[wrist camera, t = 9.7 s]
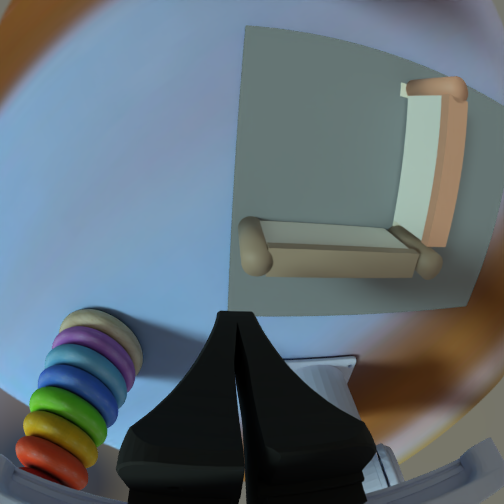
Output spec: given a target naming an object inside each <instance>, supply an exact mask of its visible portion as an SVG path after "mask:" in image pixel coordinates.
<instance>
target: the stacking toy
mask: <svg viewBox="0 0 504 504" xmlns="http://www.w3.org/2000/svg"><path fill="white" fill-rule="evenodd" d="M142 363H143V353H142V349H141V346H140V343H139V341H138V340H137V338H136V336H135V335H134V334H133V332H132V331H131V330H130V329H129V328H128V327H127V326H126V325H125V324H124V323H122V322H121V321H120V320H118V319H117V318H115V317H113V316H112V315H109V314H107V313H105V312H102V311H99V310H93V309H82V310H77V311H74V312H72V313H71V314H69V315H68V316H67V317H66V318H65V319H64V321H63V322H62V324H61V326H60V331H59V334H58V335H57V336H56V338H55V340H54V342H53V346H52V350H51V351H50V352H49V353H48V355H47V357H46V360H45V370H44V371H43V372H42V373H41V374H40V376H39V380H38V389H37V390H36V391H35V392H34V393H33V394H32V396H31V398H30V404H29V405H30V410H31V413H29V414H28V415H27V416H26V417H25V419H24V425H23V426H24V431H25V434H26V436H24V437H22V438H21V439H19V440H18V442H17V444H16V454H17V457H18V458H19V460H20V462H22V464H23V465H24V466H25V467H21V468H19V469H22V470H24V471H26V472H29V473H31V474H33V475H36V476H38V477H41V478H43V479H46V480H49V481H51V482H54V483H57V484H60V485H63V486H66V487H69V488H72V489H75V490H81V489H82V488H84V487H85V486H86V485H87V483H88V473H87V470H86V468H88V467H91V466H92V465H94V464H95V462H96V461H97V458H98V451H97V447H98V446H100V445H101V444H102V443H103V442H104V441H105V439H106V436H107V428H109V427H110V426H112V425H113V424H114V423H115V421H116V419H117V416H118V409H119V408H120V407H121V406H122V405H123V404H124V402H125V400H126V397H127V392H129V391H130V389H131V388H132V386H133V384H134V381H135V376H136V375H137V374H138V373H139V371H140V369H141V367H142Z"/></svg>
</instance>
